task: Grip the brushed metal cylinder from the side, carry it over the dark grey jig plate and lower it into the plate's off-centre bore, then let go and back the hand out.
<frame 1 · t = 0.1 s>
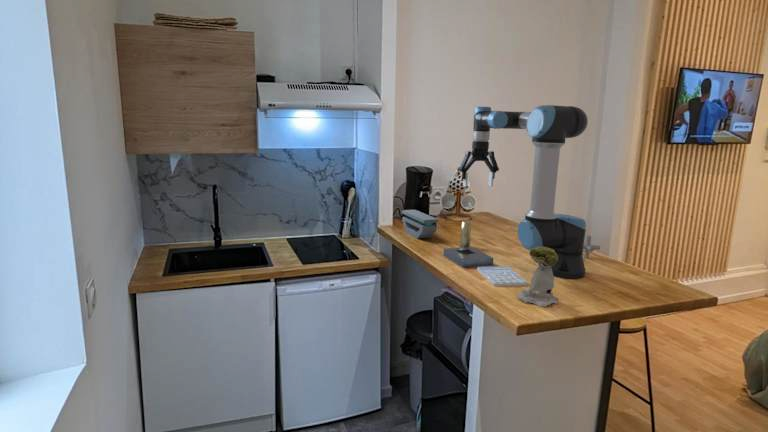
hand: (477, 186, 228), 28 cm above the worktop, tool pointing down, fingers open, 13 cm apart
pipe connector: (586, 258, 215), on the worktop
jig: (467, 260, 206), on the worktop
calculator: (500, 278, 186), on the worktop
mossy stone tower: (537, 300, 163), on the worktop
grey boxy piece: (418, 235, 246), on the worktop
brushed metal cylinder: (464, 247, 227), on the worktop
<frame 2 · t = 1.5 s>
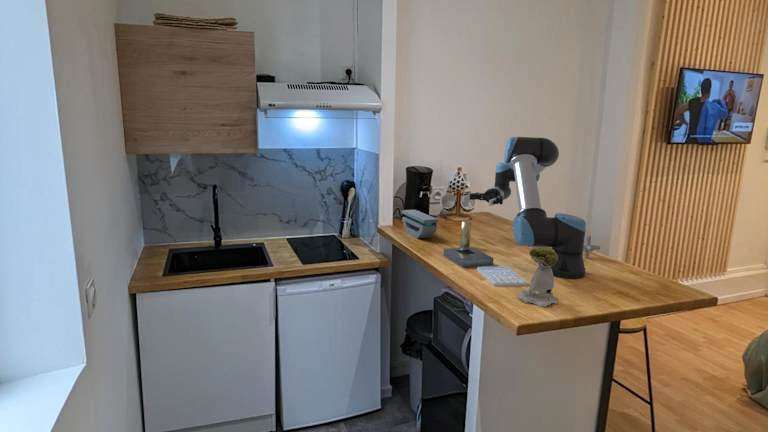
hand: (476, 201, 230), 21 cm above the worktop, tool horizontal, fingers open, 13 cm apart
nothing on the worktop moved.
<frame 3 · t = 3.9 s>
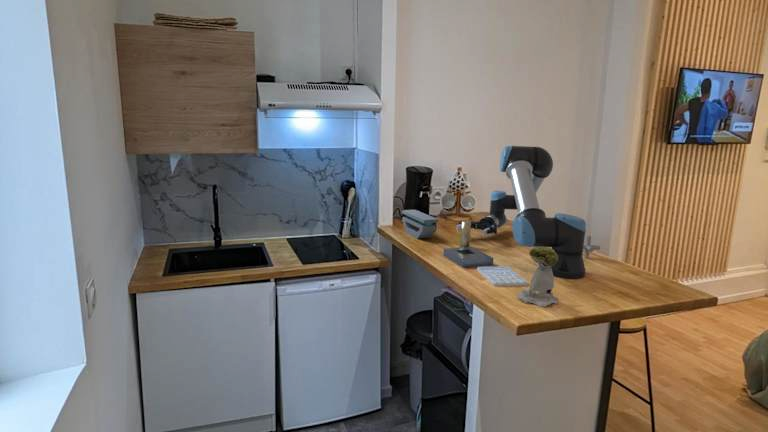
hand: (469, 230, 230), 7 cm above the worktop, tool horizontal, fingers open, 13 cm apart
nothing on the worktop moved.
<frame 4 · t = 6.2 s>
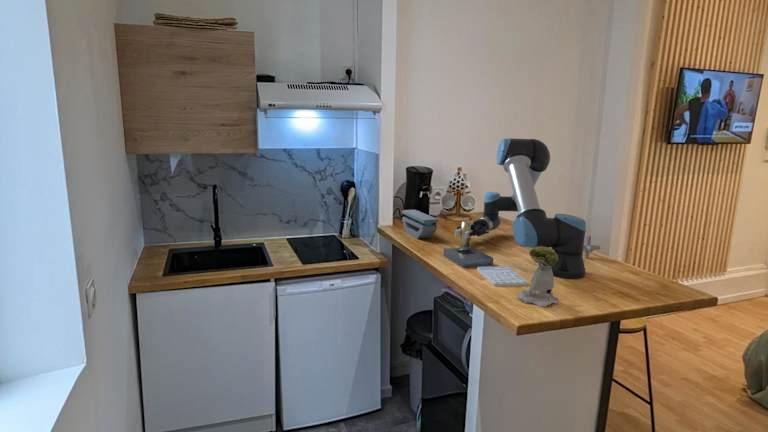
hand: (460, 234, 221), 7 cm above the worktop, tool horizontal, fingers closed on brushed metal cylinder, 4 cm apart
brushed metal cylinder: (464, 247, 227), on the worktop, touching gripper
everything else where it was.
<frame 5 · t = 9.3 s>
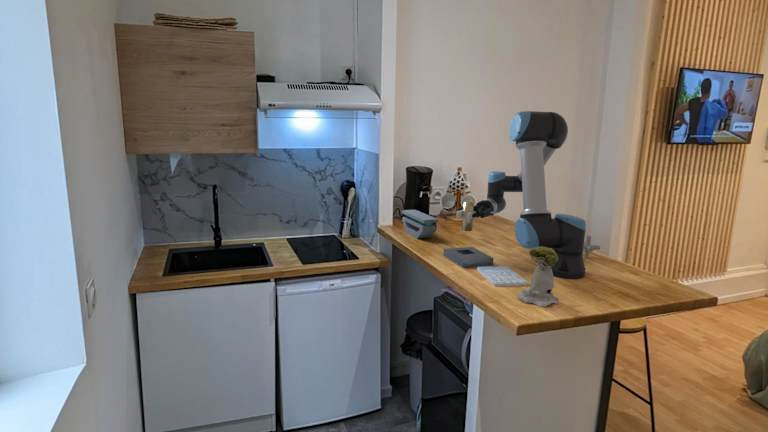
hand: (462, 215, 200), 20 cm above the worktop, tool horizontal, fingers closed on brushed metal cylinder, 4 cm apart
brushed metal cylinder: (467, 230, 206), point 13 cm above the worktop, touching gripper
everything else where it was.
when the fingers open (9 cm above the worktop, at t = 12.3 s): brushed metal cylinder drops 2 cm, resting in jig.
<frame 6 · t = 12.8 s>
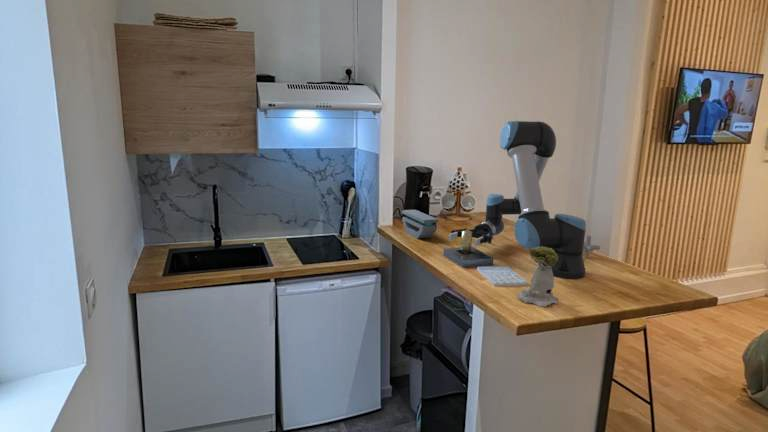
hand: (462, 240, 203), 9 cm above the worktop, tool horizontal, fingers open, 11 cm apart
brushed metal cylinder: (465, 258, 208), resting in jig
everything else where it was.
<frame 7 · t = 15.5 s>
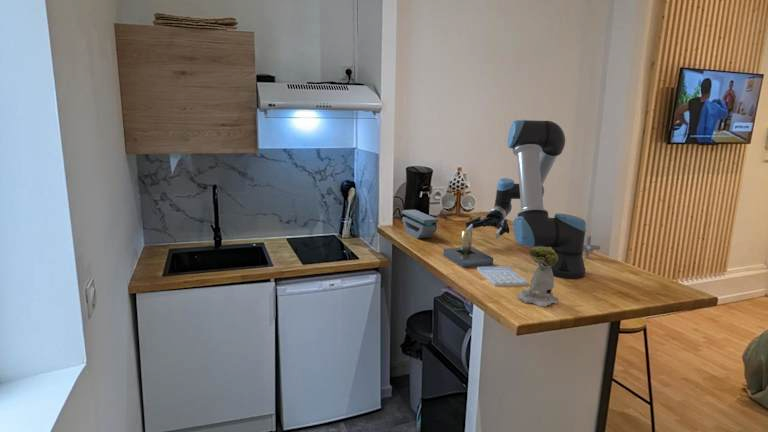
hand: (481, 234, 214), 9 cm above the worktop, tool horizontal, fingers open, 13 cm apart
nothing on the worktop moved.
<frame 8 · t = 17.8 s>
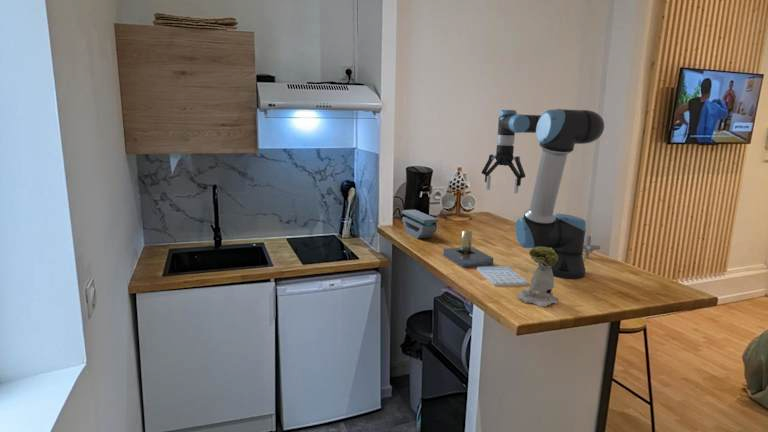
hand: (501, 191, 222), 27 cm above the worktop, tool pointing down, fingers open, 13 cm apart
nothing on the worktop moved.
at the end: brushed metal cylinder 0.0 cm from the target spot on the jig, point 0.0 cm above the jig's base; brushed metal cylinder tilted 0°; the gripper is holding nothing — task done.
